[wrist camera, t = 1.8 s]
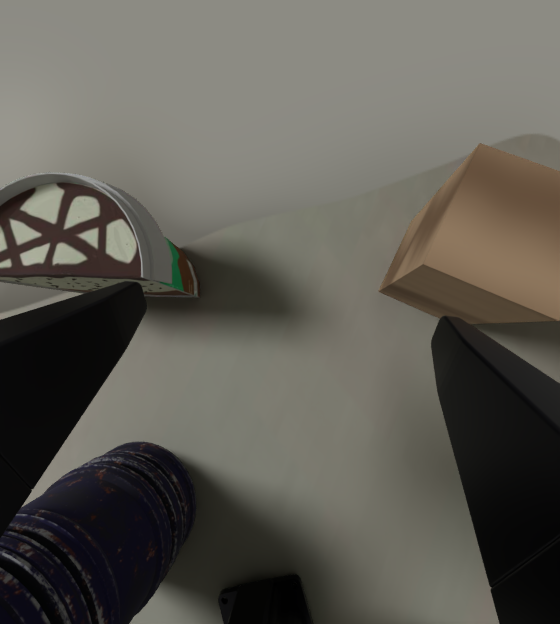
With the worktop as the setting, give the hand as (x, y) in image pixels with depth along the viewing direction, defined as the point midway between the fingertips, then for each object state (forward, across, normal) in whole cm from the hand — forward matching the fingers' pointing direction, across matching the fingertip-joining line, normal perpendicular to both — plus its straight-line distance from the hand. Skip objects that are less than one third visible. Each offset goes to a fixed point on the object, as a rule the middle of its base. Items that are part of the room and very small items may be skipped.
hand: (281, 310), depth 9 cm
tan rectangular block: (+15, -9, +5) cm, 18 cm away
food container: (+14, +14, +6) cm, 21 cm away
